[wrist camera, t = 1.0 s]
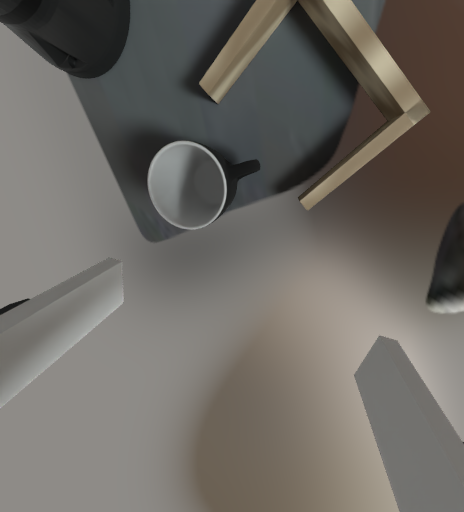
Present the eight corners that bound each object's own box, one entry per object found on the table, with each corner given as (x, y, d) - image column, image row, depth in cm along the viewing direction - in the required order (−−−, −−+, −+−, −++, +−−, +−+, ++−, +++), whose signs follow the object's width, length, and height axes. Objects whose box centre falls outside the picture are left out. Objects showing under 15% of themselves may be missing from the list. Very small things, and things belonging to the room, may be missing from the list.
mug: (198, 220, 34) (166, 238, 25) (176, 162, 32) (133, 159, 23) (272, 197, 31) (266, 209, 21) (254, 129, 28) (239, 110, 19)
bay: (210, 94, 28) (198, 83, 24) (300, -29, 22) (302, -68, 18) (304, 205, 30) (307, 210, 26) (408, 120, 24) (430, 111, 21)
